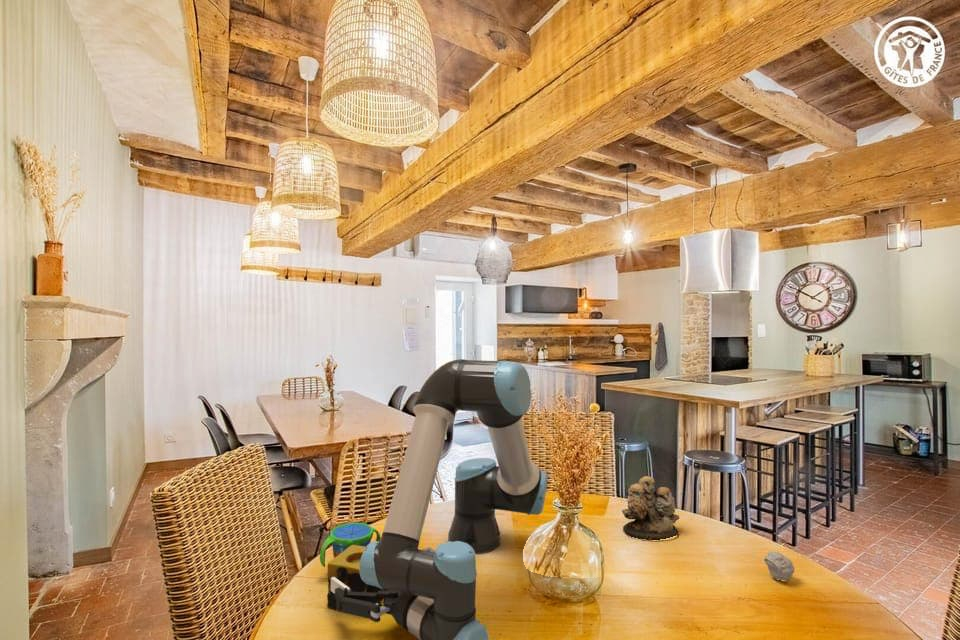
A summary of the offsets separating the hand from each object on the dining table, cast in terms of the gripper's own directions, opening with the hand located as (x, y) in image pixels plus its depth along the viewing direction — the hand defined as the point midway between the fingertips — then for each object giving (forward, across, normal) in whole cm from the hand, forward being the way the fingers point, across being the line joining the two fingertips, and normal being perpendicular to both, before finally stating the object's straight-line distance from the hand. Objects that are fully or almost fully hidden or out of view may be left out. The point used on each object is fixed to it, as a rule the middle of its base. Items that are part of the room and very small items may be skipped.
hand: (359, 572), depth 108 cm
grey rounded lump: (-66, +79, -7) cm, 103 cm away
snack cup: (+12, +6, -7) cm, 15 cm away
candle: (0, 0, -7) cm, 7 cm away
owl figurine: (-31, +82, -7) cm, 88 cm away
